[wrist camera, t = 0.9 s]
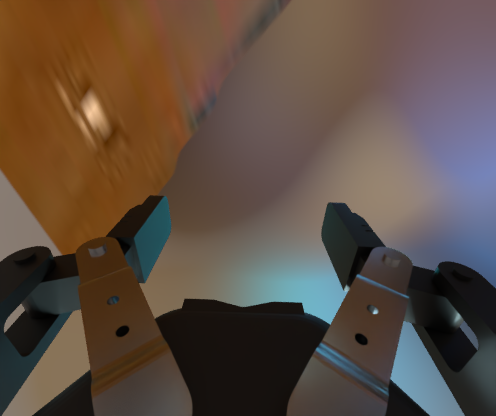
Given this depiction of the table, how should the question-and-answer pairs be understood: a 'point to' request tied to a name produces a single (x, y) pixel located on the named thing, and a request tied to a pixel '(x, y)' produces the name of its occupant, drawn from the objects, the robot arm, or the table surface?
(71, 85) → the table surface
